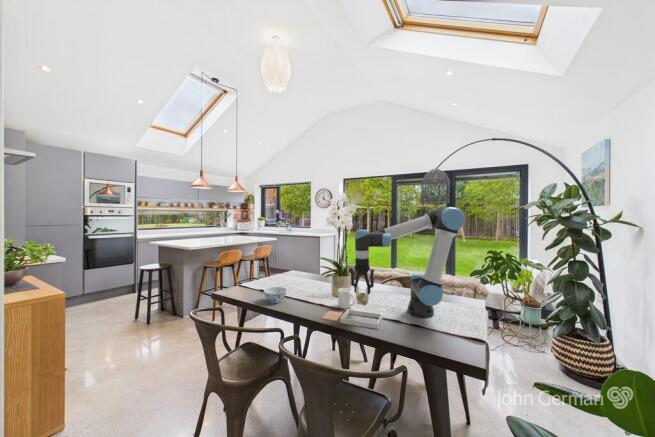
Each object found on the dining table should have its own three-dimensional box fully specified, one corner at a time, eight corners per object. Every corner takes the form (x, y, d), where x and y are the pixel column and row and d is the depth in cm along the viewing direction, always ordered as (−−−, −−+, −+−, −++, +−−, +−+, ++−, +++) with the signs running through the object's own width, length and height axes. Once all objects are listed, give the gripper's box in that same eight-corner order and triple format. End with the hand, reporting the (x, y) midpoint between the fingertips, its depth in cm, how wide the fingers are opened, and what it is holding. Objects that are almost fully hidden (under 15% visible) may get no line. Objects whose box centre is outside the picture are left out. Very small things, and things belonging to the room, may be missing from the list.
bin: (382, 318, 156) (382, 313, 156) (377, 328, 142) (377, 324, 142) (348, 313, 163) (348, 309, 163) (340, 322, 149) (340, 318, 149)
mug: (350, 311, 166) (350, 293, 166) (335, 306, 174) (335, 290, 174) (358, 307, 173) (358, 290, 172) (343, 303, 181) (343, 287, 180)
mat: (343, 313, 163) (343, 312, 163) (336, 321, 152) (336, 320, 152) (329, 311, 166) (329, 310, 166) (321, 318, 155) (321, 318, 155)
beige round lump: (367, 302, 154) (367, 293, 153) (365, 305, 149) (365, 295, 149) (359, 301, 155) (359, 292, 155) (356, 304, 151) (356, 295, 151)
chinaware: (276, 307, 173) (276, 295, 173) (259, 302, 181) (259, 291, 181) (291, 300, 186) (291, 289, 186) (274, 296, 194) (274, 285, 194)
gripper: (379, 257, 151) (379, 298, 152) (348, 255, 158) (348, 295, 159) (376, 259, 144) (377, 303, 145) (344, 257, 151) (345, 299, 152)
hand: (362, 298), depth 152 cm, fingers closed on beige round lump, 5 cm apart
